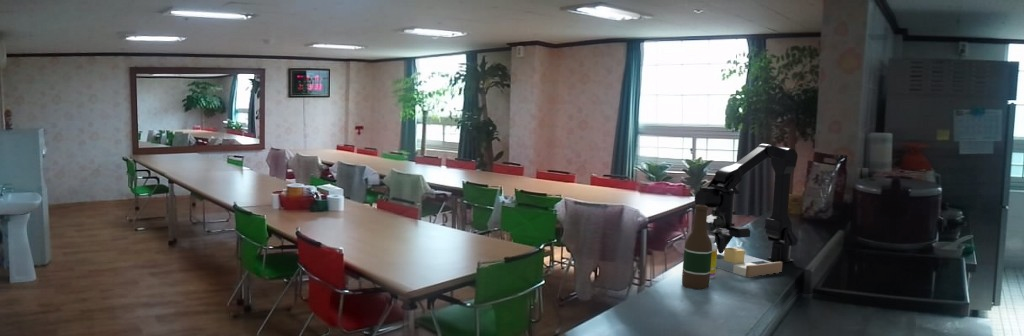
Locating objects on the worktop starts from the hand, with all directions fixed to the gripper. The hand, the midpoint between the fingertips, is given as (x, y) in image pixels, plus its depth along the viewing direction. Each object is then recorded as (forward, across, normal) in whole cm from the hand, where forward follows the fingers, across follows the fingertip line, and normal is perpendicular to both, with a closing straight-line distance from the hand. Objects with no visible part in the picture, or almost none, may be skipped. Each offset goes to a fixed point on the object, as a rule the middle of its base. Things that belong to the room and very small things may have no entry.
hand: (720, 253), depth 222 cm
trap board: (+4, +6, +4) cm, 8 cm away
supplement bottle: (+4, +10, -18) cm, 20 cm away
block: (+1, +6, 0) cm, 6 cm away
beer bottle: (+4, +17, -28) cm, 33 cm away
